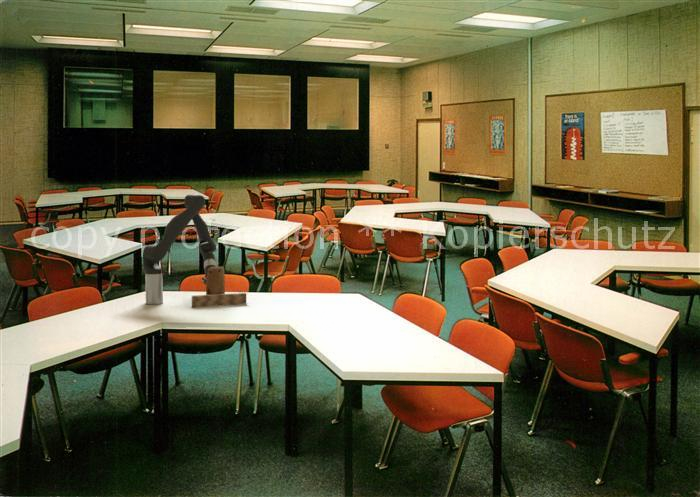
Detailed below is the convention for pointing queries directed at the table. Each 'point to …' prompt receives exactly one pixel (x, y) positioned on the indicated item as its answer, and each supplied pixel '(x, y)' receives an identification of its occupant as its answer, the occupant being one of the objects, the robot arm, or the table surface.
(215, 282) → the block
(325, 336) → the table surface
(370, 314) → the table surface
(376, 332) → the table surface
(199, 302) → the board
